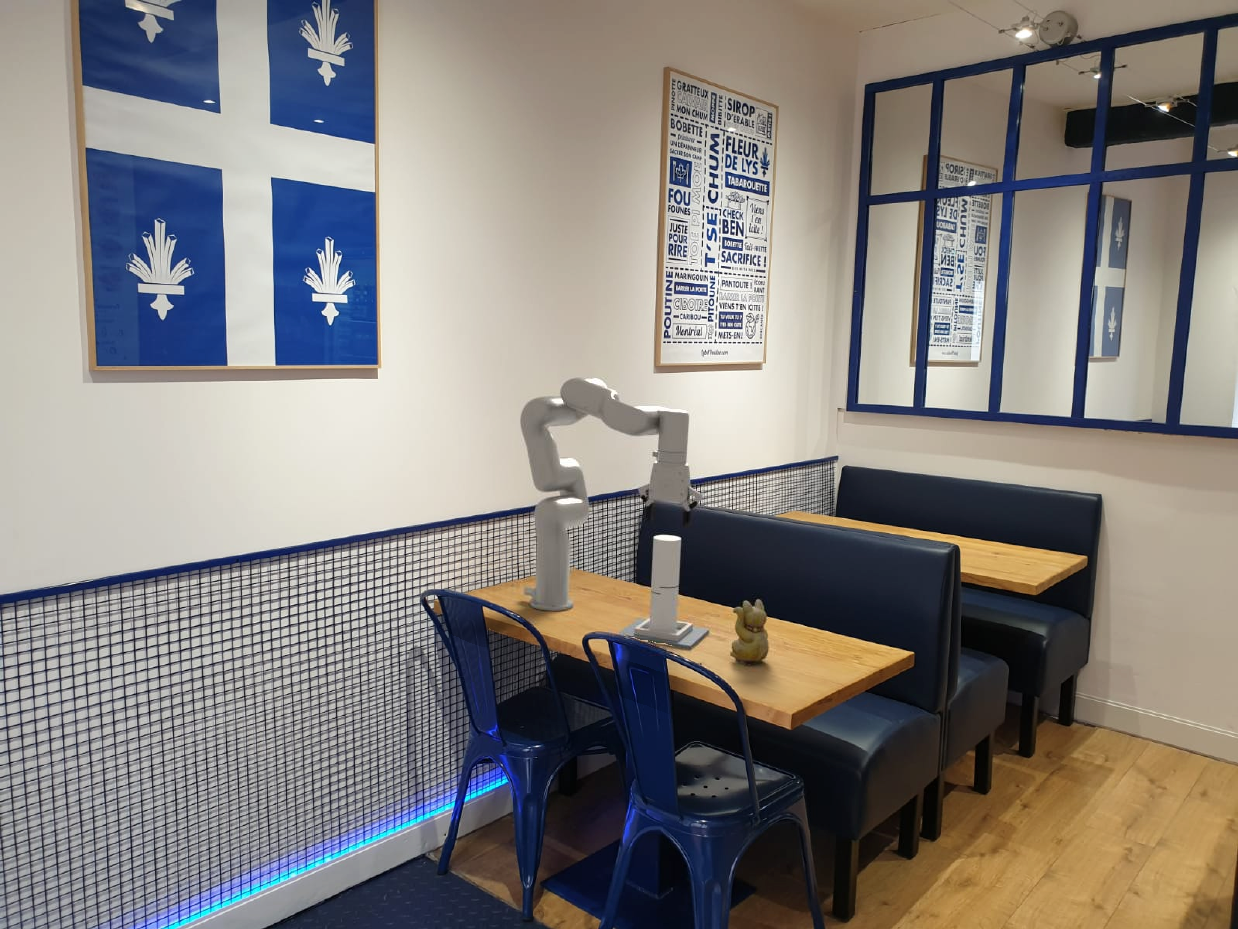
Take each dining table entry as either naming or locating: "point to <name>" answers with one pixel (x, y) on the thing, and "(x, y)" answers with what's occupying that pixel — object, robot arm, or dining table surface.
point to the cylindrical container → (665, 583)
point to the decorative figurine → (750, 634)
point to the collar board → (666, 634)
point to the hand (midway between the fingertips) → (668, 523)
